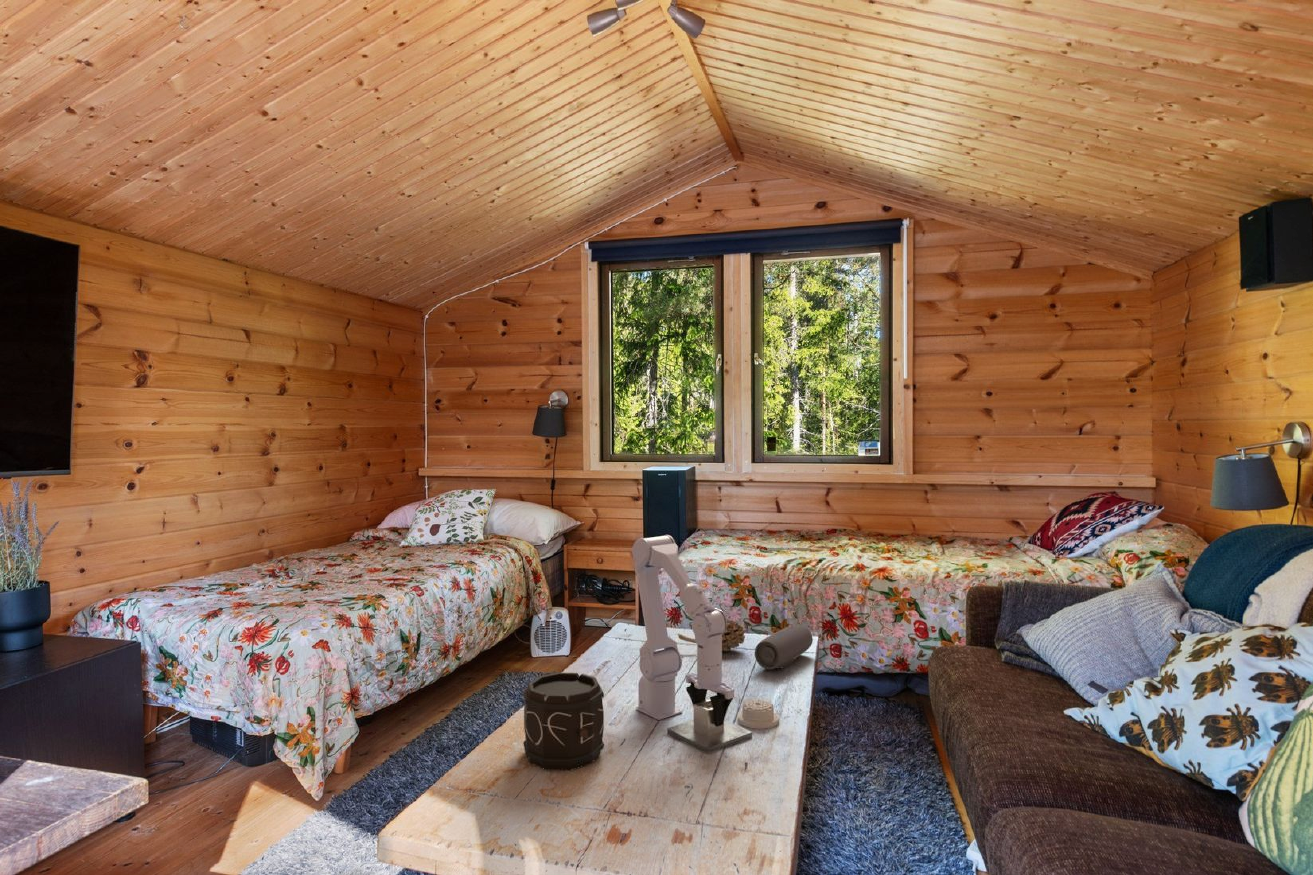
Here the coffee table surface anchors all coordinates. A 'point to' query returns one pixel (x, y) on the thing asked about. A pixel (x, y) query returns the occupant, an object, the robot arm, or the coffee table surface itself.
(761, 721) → the mechanical component
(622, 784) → the coffee table surface
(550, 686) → the wooden barrel
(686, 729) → the post plate
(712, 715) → the collar
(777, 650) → the bluetooth speaker
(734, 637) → the pine cone
